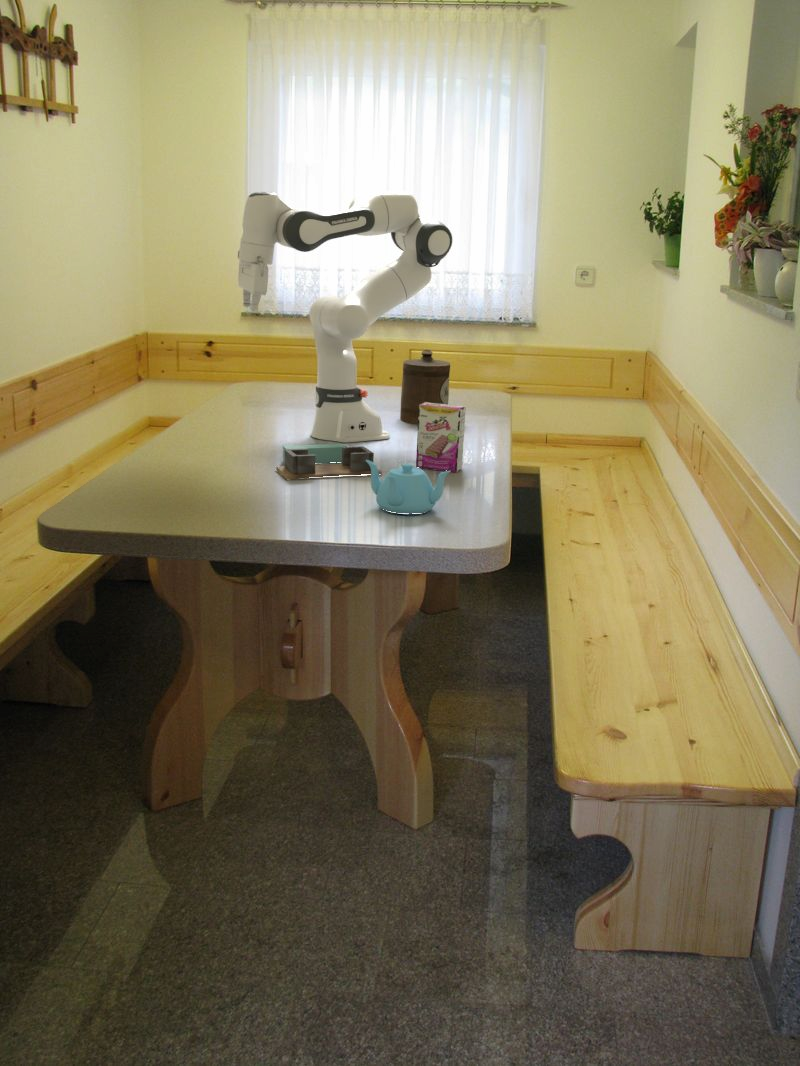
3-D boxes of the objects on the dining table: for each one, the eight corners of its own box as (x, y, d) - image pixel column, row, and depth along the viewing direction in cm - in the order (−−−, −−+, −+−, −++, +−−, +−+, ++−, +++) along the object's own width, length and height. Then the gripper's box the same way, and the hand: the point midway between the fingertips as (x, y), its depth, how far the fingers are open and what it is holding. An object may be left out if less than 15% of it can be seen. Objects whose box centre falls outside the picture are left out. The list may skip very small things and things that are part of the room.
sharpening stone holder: (368, 466, 281) (368, 445, 279) (381, 475, 272) (382, 453, 270) (276, 470, 273) (276, 448, 271) (286, 480, 264) (286, 457, 262)
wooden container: (453, 424, 341) (457, 352, 335) (408, 425, 337) (410, 352, 331) (438, 415, 355) (442, 346, 349) (394, 416, 351) (397, 346, 344)
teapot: (424, 499, 251) (426, 455, 248) (451, 516, 238) (453, 470, 235) (363, 503, 246) (365, 458, 243) (387, 521, 233) (389, 473, 230)
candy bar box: (415, 468, 281) (417, 404, 276) (421, 464, 285) (423, 401, 281) (457, 473, 277) (460, 408, 273) (462, 469, 282) (466, 405, 277)
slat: (342, 460, 288) (343, 443, 286) (347, 463, 284) (347, 446, 283) (282, 463, 282) (283, 445, 281) (286, 466, 279) (286, 449, 277)
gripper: (276, 260, 280) (270, 315, 283) (259, 254, 298) (253, 305, 302) (252, 256, 278) (245, 312, 281) (236, 251, 296) (231, 303, 300)
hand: (249, 308), depth 292 cm, fingers open, 8 cm apart
